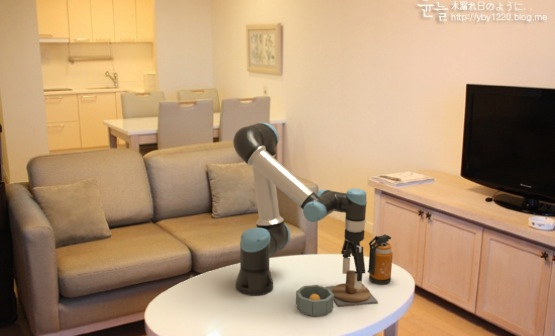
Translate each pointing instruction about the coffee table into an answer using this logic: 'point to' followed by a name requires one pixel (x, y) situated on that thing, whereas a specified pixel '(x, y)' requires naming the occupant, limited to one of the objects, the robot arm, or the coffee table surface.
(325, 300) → the slate bowl
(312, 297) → the orange ball
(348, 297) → the walnut lid
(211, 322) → the coffee table surface
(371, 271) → the canister
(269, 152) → the robot arm
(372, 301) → the rubber mat
